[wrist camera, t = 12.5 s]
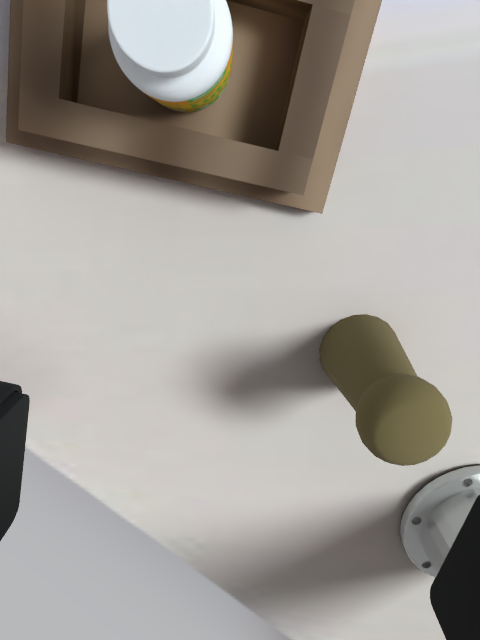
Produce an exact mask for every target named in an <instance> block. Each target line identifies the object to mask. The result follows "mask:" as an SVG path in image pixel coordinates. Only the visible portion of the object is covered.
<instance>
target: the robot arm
mask: <svg viewBox="0 0 480 640" xmlns="http://www.w3.org/2000/svg"><path fill="white" fill-rule="evenodd" d="M28 412H29V396H28V395H26V394H22V389H21V387H20V386H19V385H16V384H12V383H7V382H2V381H0V541H1V539H2V537H3V536H4V535H5V533H6V532H7V530H8V529H9V527H10V526H11V524H12V522H13V520H14V518H15V516H16V513H17V511H18V507H19V501H20V491H21V481H22V471H23V461H24V452H25V442H26V432H27V422H28ZM400 535H401V539H402V544H403V546H404V548H405V550H406V553H407V555H408V557H409V558H410V559H411V561H412V562H413V563H414V564H415V565H416V566H417V567H418V568H419V569H420V570H422V571H424V572H425V573H427V574H429V575H431V576H434V577H436V578H435V580H434V582H433V584H432V586H431V590H430V599H431V604H432V607H433V610H434V612H435V614H436V617H437V619H438V621H439V624H440V626H441V628H442V631H443V633H444V635H445V638H446V640H480V465H478V466H471V467H464V468H461V469H458V470H454V471H451V472H449V473H446V474H444V475H442V476H440V477H438V478H436V479H435V480H433V481H432V482H430V483H429V484H427V485H426V486H425V487H423V488H422V489H421V490H420V491H419V492H418V493H417V494H416V495H415V496H414V497H413V499H412V500H411V501H410V503H409V504H408V506H407V508H406V510H405V512H404V514H403V517H402V521H401V524H400Z"/></svg>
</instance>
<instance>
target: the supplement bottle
mask: <svg viewBox="0 0 480 640" xmlns="http://www.w3.org/2000/svg"><path fill="white" fill-rule="evenodd" d="M107 13H108V31H109V38H110V43H111V47H112V50H113V53H114V56H115V58H116V60H117V62H118V64H119V66H120V68H121V70H122V71H123V72H124V74H125V75H126V76H127V78H128V79H129V80H130V81H131V82H132V83H133V84H134V85H135V86H136V87H137V88H138V89H140V90H141V91H142V92H143V93H145V94H146V95H148V96H149V97H151V98H152V99H154V100H155V101H157V102H158V103H160V104H161V105H163V106H164V107H166V108H168V109H171V110H174V111H178V112H185V113H190V112H196V111H200V110H203V109H205V108H207V107H209V106H210V105H211V104H213V103H214V102H215V101H216V100H217V99H218V98H219V97H220V96H221V94H222V93H223V92H224V90H225V88H226V86H227V84H228V81H229V79H230V75H231V71H232V58H233V28H232V20H231V15H230V11H229V8H228V5H227V2H226V0H107Z"/></svg>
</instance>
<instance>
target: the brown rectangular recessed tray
mask: <svg viewBox="0 0 480 640" xmlns="http://www.w3.org/2000/svg"><path fill="white" fill-rule="evenodd" d="M226 2H227V5H228V8H229V11H230V15H231V20H232V28H233V58H232V71H231V75H230V79H229V81H228V84H227V86H226V88H225V90H224V92H223V93H222V94H221V96H220V97H219V98H218V99H217V100H216V101H215V102H214V103H213V104H211V105H210V106H209V107H207V108H205V109H203V110H200V111H196V112H190V113H185V112H178V111H174V110H171V109H168V108H166V107H164V106H163V105H161V104H160V103H158V102H157V101H155V100H154V99H152V98H151V97H149V96H148V95H146V94H145V93H143V92H142V91H141V90H140V89H138V88H137V87H136V86H135V85H134V84H133V83H132V82H131V81H130V80H129V79H128V78H127V76H126V75H125V74H124V72H123V71H122V70H121V68H120V66H119V64H118V62H117V60H116V58H115V56H114V53H113V50H112V47H111V43H110V38H109V31H108V13H107V0H11V3H10V34H9V65H8V97H7V128H6V142H9V143H13V144H17V145H22V146H26V147H31V148H35V149H39V150H44V151H48V152H53V153H57V154H61V155H66V156H70V157H75V158H79V159H83V160H88V161H92V162H97V163H101V164H105V165H110V166H114V167H119V168H123V169H128V170H132V171H136V172H141V173H145V174H150V175H154V176H158V177H163V178H167V179H172V180H176V181H180V182H185V183H189V184H194V185H198V186H202V187H207V188H211V189H216V190H220V191H224V192H229V193H233V194H238V195H242V196H247V197H251V198H255V199H260V200H264V201H269V202H273V203H277V204H282V205H286V206H291V207H295V208H299V209H304V210H308V211H313V212H317V213H321V214H322V212H323V209H324V205H325V202H326V198H327V194H328V191H329V187H330V184H331V180H332V177H333V173H334V170H335V166H336V162H337V159H338V155H339V152H340V148H341V145H342V141H343V137H344V134H345V130H346V127H347V123H348V120H349V116H350V112H351V109H352V105H353V102H354V98H355V95H356V91H357V87H358V84H359V80H360V77H361V73H362V70H363V66H364V62H365V59H366V55H367V52H368V48H369V45H370V41H371V37H372V34H373V30H374V27H375V23H376V20H377V16H378V13H379V9H380V5H381V2H382V0H226Z"/></svg>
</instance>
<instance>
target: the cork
mask: <svg viewBox="0 0 480 640" xmlns="http://www.w3.org/2000/svg"><path fill="white" fill-rule="evenodd" d="M320 361H321V364H322V367H323V369H324V371H325V372H326V373H327V375H328V376H329V377H330V379H331V380H332V381H333V382H334V384H335V385H336V386H337V388H338V389H339V390H340V392H341V393H342V394H343V395H344V397H345V398H346V399H347V401H348V402H349V403H350V404H351V406H352V407H353V408H354V410H355V411H356V427H357V430H358V433H359V435H360V438H361V440H362V442H363V444H364V445H365V446H366V447H367V448H368V449H369V450H370V451H371V452H372V453H373V454H374V455H375V456H376V457H378V458H380V459H382V460H383V461H385V462H388V463H392V464H397V465H402V466H403V465H415V464H418V463H421V462H424V461H427V460H428V459H430V458H431V457H433V456H435V455H436V454H437V453H438V452H439V451H440V450H441V449H442V448H443V447H444V446H445V444H446V442H447V440H448V438H449V436H450V432H451V425H452V416H451V412H450V409H449V406H448V403H447V401H446V399H445V398H444V397H443V395H442V394H441V393H440V392H439V391H438V389H437V388H436V387H435V386H433V385H432V384H430V383H428V382H427V381H425V380H423V379H421V378H420V377H417V375H416V373H415V371H414V369H413V367H412V365H411V363H410V361H409V359H408V357H407V355H406V353H405V351H404V350H403V348H402V346H401V344H400V342H399V340H398V338H397V336H396V334H395V332H394V331H393V330H392V328H391V327H390V326H389V324H388V323H386V322H385V321H383V320H381V319H380V318H378V317H374V316H370V315H353V316H350V317H348V318H345V319H343V320H340V321H339V322H338V323H336V324H335V325H334V326H332V327H331V328H330V330H329V331H328V332H327V334H326V335H325V336H324V338H323V341H322V344H321V347H320Z"/></svg>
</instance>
